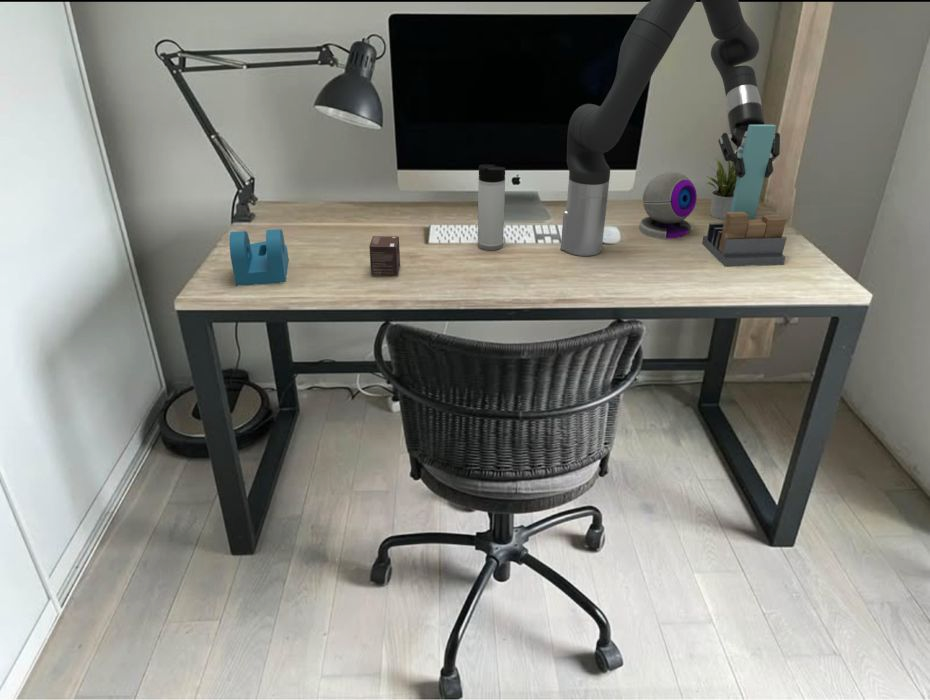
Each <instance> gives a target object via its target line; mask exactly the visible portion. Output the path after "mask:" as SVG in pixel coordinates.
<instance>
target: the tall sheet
mask: <svg viewBox="0 0 930 700" xmlns="http://www.w3.org/2000/svg"><path fill="white" fill-rule="evenodd" d="M776 130H777V125H775V124H765V125H749V126H748V131H747V136H746V140H745V145H744V150H743V156H742V159H743V162H744V166H745V175H744V176H743V177H742V178H739V177H738V176H737V178H736V179H737V182H736V186H735V190H734V196H733V200H732V205H731V210H730V212H745V213H746V214H747V215H749V216H750V217H749V220H756V215H757V210H758V205H759V201H760V197H761V193H762V189H763V185H764V180H765V177H764V176H765V172H766V167H767V163H768V160H769V156H770V152H771V148H772V143H773V139H774V135H775V133H776Z"/></svg>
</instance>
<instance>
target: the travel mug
mask: <svg viewBox="0 0 930 700" xmlns="http://www.w3.org/2000/svg"><path fill="white" fill-rule="evenodd" d="M477 181H478V182H477V183H478V185H477V186H478V190H477V192H478V193H477V195H478V197H477V200H478V201H477V203H478V204H477V247H478V248H479V249H481V250H483V251H484V250H485V251H497V250H501V249H502V248H503V247H504V231H505V230H504V228H505V227H504V226H505V201H506V200H505V195H506V167H504V166H502V167H501V166H498V165H497V164H486V163H485V164H480V165H479V166H478V179H477Z"/></svg>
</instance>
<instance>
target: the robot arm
mask: <svg viewBox="0 0 930 700" xmlns="http://www.w3.org/2000/svg"><path fill="white" fill-rule="evenodd" d="M696 2H697V0H650V1H648V3H646V4H645V6H643V7H642V8H641V9H640V10H639V12H638V13H637V14H636V16H635V18H634V20H633V22H632V23H631V25H630V27H629V28H628V30H627V32H626V34H625V36H624V38H623V40H622V41H621V44H620V49H619V54H618V60H617V68H616V73H615V78H614V81H613V82H612V83H613V84H612V85H611V88H610V90H609V92H608V93H607V95H606V97H605V99H604V100H603V102H602V103H601V104H600V105H597V104H592V103H585V104H581V106H580V105H579V107H578V108H576V109H575V110H574V111H573V112H572V115H571V117H570V119H569V123H568V127H567V141H566V142H567V144H566V164H567V168H568V185H567V199H566V209H565V210H563V214H562V215H563V216H562V227H561V240H560V250H561V251H564V252H566V253H568V254H570V255H573V256H583V257H587V256H588V257H589V256H595V255H598V254H601V252H602V250H603V243H604V233H605V225H606V224H605V223H606V217H607V215H606V214H607V206H608V198H609V197H608V196H609V187H610V186H609V185H610V179H611V178H610V177H611V167H610V165H608V163H607V161H606V158H605V156H604V153H607V152H609V151H611V150H612V149H613V148H614V147H615V146H616V145H617V144H618V143H619V141H620V140H621V137H622V135H623V133H624V131H625V129H626V127H627V125H628V123H629V120H631V119H630V118H631V117H632V114H633V112H634V109H635V107H636V106H637V103H638V101H640V100H639V99H640V97H641V96H642V94H643V92H644V90H645V88H646V87H647V85H648V83H649V82H650V80H651V78H652V76H653V74H654V72H655V70H656V69H657V67H658V66H659V64H660V63H661V61H662V59H663V57H664V56H665V55H666V53H667V50H668V49H669V48H670V46H671V44H672V42H673V41H674V39H675V37H676V35H677V33H678V31H679V29H680V28H681V26H682V24H683V23H684V21H685V20H686V18H687V16H688V15H689V13H690V11H691V10H692V8H693V6H694V5H695V3H696ZM700 2H701V4H702V7H703V9H704V12H705V14H706V17H707V21H708V26H709V27H710V30H711V33H712V35H713V37H714V38H715V39H717V40H716V41H715V42H713V44H712V46H711V49H710V56H711V60H712V62H713V64H714V66H715V68H716V69H717V71H718V72H719V75H720V77H721V79H722V83H723V87H724V94H725V99H726V100H725V104H726V105H725V107H726V108H725V110H726V114H727V122H728V126H729V127H728V128H729V132H730V133H726V132H723V133H722V134H721V136H720V137H719V138H718V139H717V140H718V143H719V147H720V150H721V153H722V155H723V158H724V161H725V162H728V161H729V162H731V163H732V162H733V163H734V167H735V172H734V173H736V175H738V176H737V177H739V178H742V177H743V176H744V175H745V166H744V162H743V159H742V156H743V150H744V145H745V140H746V136H747V131H748V126H749V125H766V123H765V117H764V112H763V111H764V109H763V105H762V99H761V95H760V92H759V90H758V89H759V88H758V83H757V78H756V77H757V76H756V72H755V70H754V68H753V67H752V66H751V65H741V64H744V63H748V62H750V61H752V60H754V59H755V58H756V57H757V55H758V54H759V51H760V43H759V39H758V37H757V35H756V34H755V32H754V31H753V29H752V28H751V27H750V26H749V25H748V23H747V22H746V20H745V19H744V16H743V13H742V9H741V6H740V3H739V2H740V1H739V0H700ZM731 142H732V143H733V144H734V145H735V150H734V149H733V146H732V143H731ZM780 148H781V134H780V133H779V132H775V135H774V139H773V143H772V148H771V152H770V156H769V160H768V163H767V167H766V172H765V176H764V179H765V178H769V177H770V176H771V175H772V174H773V172H774V166H773V162H774V161H775V160H776V159H777V157H779V155H780V152H781V149H780Z"/></svg>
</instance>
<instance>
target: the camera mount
mask: <svg viewBox="0 0 930 700" xmlns="http://www.w3.org/2000/svg"><path fill="white" fill-rule="evenodd" d="M283 232H284V231H283V229H282V228H275V229H266V231H265V241H257V242H254V243H251V242H250V237H249V234H248V232H247V230H241V231H239V230H238V231H230V234H229V254H230V261H231V262H230V263H231V267H232V272H233V277H234V283H235V286H236V287H239V286H238V285H245V286H255V285H254V284H259V285H268V284H267V283H274V284H281V283H280V282H286V283H287V277H286V276H287V275H288V267H289V252H288V246H287V244H285V237H284V233H283Z"/></svg>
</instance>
